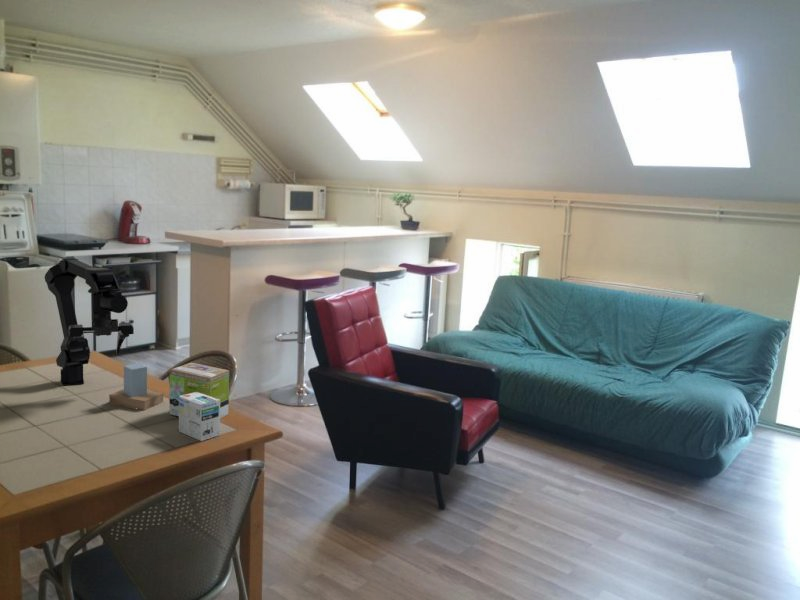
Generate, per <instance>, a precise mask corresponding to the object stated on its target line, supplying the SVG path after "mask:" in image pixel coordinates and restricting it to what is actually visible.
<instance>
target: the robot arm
mask: <svg viewBox="0 0 800 600" xmlns="http://www.w3.org/2000/svg"><path fill="white" fill-rule="evenodd" d="M77 277H78V278H81V279H83V280H85V284H86V285H87V286H88V287H90V288H89V289H88V290H87V293H88V294H90V303H91V304H90V307H91V310H90V311H91V326H86V327H85V326H83V324H78V319H77V314H76V310H75V306H74V301H73V300H74V299H73V296H72V292H73V289H74V288H75V280H76V278H77ZM44 281H45V283H46V286H47V288H48V290H49V291H50V293H51V294H53V295H54V296H55V300H56V301H55V302H56V305H57V311H58V314H59V320H60V325H61V329H62V334H63V335H62V336H63V339H62V342H61V345H60V353H59V354H58V356H57V357H56V359H55V362H56V366H58V367H60V383H61V384H62V386H72V385H73V386H74V385H84V384H85V380H84V365H88V364H89V362H90V361H89V360H90V357H91V349H90V346H89V340H88V339H87V338H86V337H85V335H84V334H94V335H95V336H96V337H100V336H107V337H109V336H111V335H112V333H116V332H117V338H116V347H115V349H116V350H115V351H116V353H115V354H116V356H119V354H120V350H121V348H122V344H123V343H124V341H125V339H126V338H129V337H130V335H133V334H135V331H134V329H135V327H134V326H133V325H134V324H132V323H131V322H119V319H117V318H113V319H112V313H116V314H121V313H124V311H126V309H127V308H128V305H129V303H128V300H127V298H126V296H124V295H122V294H123V293H122V291H121V287H120V284H119V282H118V279H117V278H116V276H115V273H114V272H113V270H112V269H110V268H106V267H95V266H92V265H89V264H87V263H85V262H83V261H80V260H79V259H78V258H76V257H75V258H74V257H73V258H70V257H69V258H63V259H60V260H59V262H58V263H56V264H55V265H53V266H51V267H49V269H48V270H47V271H46V273H45V274H44Z"/></svg>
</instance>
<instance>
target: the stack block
mask: <svg viewBox="0 0 800 600" xmlns="http://www.w3.org/2000/svg"><path fill="white" fill-rule="evenodd" d="M108 395H109V399H108V400H109V405H114V406H117V405H119V406H118V407H123V406H125V407H124V408H128V407H131V408H130V409H134V408H137V409H136V410H139V409H141V410H140V411H146V410H149V409H151V408H153V407H155V405H156V406H157V405H159V404H162V403H163V402H164V393H163V392H159V391H153V390H148V389H147V394H146V395H141V396H136V397H130V396H128V395H126V394H124V388H123V389H120V390H118V391H116V392H113V393H111V394H108Z"/></svg>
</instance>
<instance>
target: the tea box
mask: <svg viewBox="0 0 800 600" xmlns="http://www.w3.org/2000/svg"><path fill="white" fill-rule="evenodd" d="M194 392H199V393H202V394H205V395H207V396H210V397H213V398H217V399H220V419H222V418H224V417H227V416H228V415H229V403H230V402H229V399H230V397H229V396H230V369H229V370H228V369H223V368H220V367H215V366H209V365H206V364H205V365H204V364H200V363H195V362H191V361H190V362H189V363H185V364H183V365H181V366H180V365H179V366H177V367H174V368H171V369H169V402H168V403H169V415H171V416H175V417H179V396H181V395H186V394H190V393H194Z"/></svg>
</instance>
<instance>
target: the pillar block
mask: <svg viewBox="0 0 800 600" xmlns="http://www.w3.org/2000/svg"><path fill="white" fill-rule="evenodd" d="M123 389H124V394H126V395H128V396H130V397H136V396H141V395H146V394H147V390H148V367H147V366H146V365H144V364H141V363H139V362H138V363H133V364H127V365H126V364H125V365H124V366H123Z"/></svg>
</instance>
